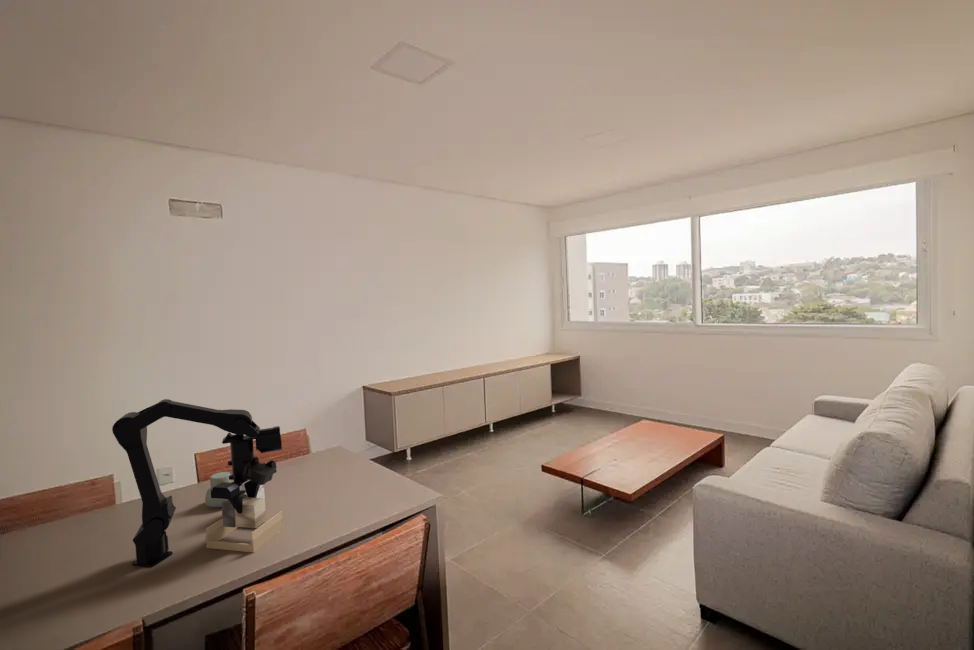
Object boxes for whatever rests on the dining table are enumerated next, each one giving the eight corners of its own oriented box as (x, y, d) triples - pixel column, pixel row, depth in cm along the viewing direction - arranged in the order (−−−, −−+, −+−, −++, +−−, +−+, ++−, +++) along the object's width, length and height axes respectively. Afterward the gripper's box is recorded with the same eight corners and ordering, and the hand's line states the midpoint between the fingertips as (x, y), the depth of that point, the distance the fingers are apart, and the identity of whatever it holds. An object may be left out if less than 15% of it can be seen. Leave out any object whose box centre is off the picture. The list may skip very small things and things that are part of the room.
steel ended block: (267, 519, 134) (266, 495, 133) (254, 529, 128) (252, 504, 128) (237, 517, 136) (236, 493, 135) (223, 526, 130) (221, 502, 130)
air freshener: (233, 508, 152) (231, 478, 151) (204, 513, 149) (202, 483, 148) (238, 495, 162) (236, 467, 161) (211, 499, 159) (209, 471, 158)
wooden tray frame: (253, 552, 125) (252, 532, 124) (206, 547, 128) (205, 528, 127) (283, 529, 137) (282, 510, 137) (239, 525, 140) (238, 507, 140)
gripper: (243, 469, 120) (247, 527, 121) (288, 446, 138) (291, 496, 139) (207, 467, 122) (211, 524, 123) (255, 444, 140) (259, 494, 141)
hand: (246, 509), depth 132 cm, fingers closed on steel ended block, 4 cm apart
